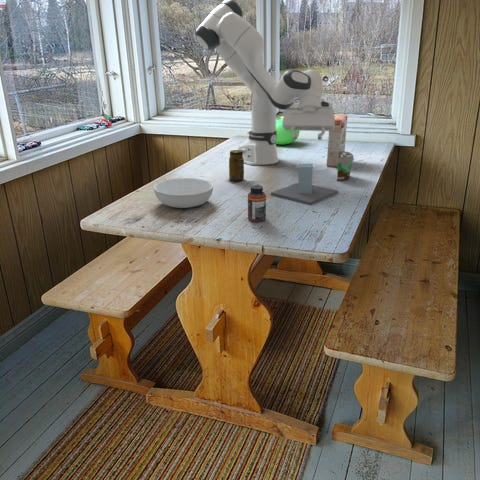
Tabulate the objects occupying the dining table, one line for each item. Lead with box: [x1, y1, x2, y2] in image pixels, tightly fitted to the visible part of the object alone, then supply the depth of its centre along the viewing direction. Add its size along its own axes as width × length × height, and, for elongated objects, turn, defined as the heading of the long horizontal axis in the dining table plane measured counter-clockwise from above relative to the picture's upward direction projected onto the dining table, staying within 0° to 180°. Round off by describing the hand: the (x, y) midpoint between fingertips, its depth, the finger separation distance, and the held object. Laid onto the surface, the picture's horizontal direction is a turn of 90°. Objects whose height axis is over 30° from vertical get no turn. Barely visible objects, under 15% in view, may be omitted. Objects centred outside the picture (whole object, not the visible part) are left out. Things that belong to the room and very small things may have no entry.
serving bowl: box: [153, 177, 214, 209], centre depth 181 cm, size 21×21×7 cm
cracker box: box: [326, 114, 348, 168], centre depth 227 cm, size 14×6×21 cm, turn 160°
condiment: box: [225, 149, 249, 184], centre depth 206 cm, size 7×8×12 cm
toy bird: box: [276, 115, 301, 146], centre depth 267 cm, size 18×17×15 cm
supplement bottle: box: [247, 184, 267, 223], centre depth 164 cm, size 6×6×11 cm
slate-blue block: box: [297, 163, 314, 194], centre depth 188 cm, size 5×5×10 cm
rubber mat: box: [270, 182, 339, 206], centre depth 190 cm, size 18×18×1 cm
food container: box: [336, 151, 355, 182], centre depth 207 cm, size 12×6×10 cm, turn 168°
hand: (307, 138), depth 194 cm, fingers open, 8 cm apart
